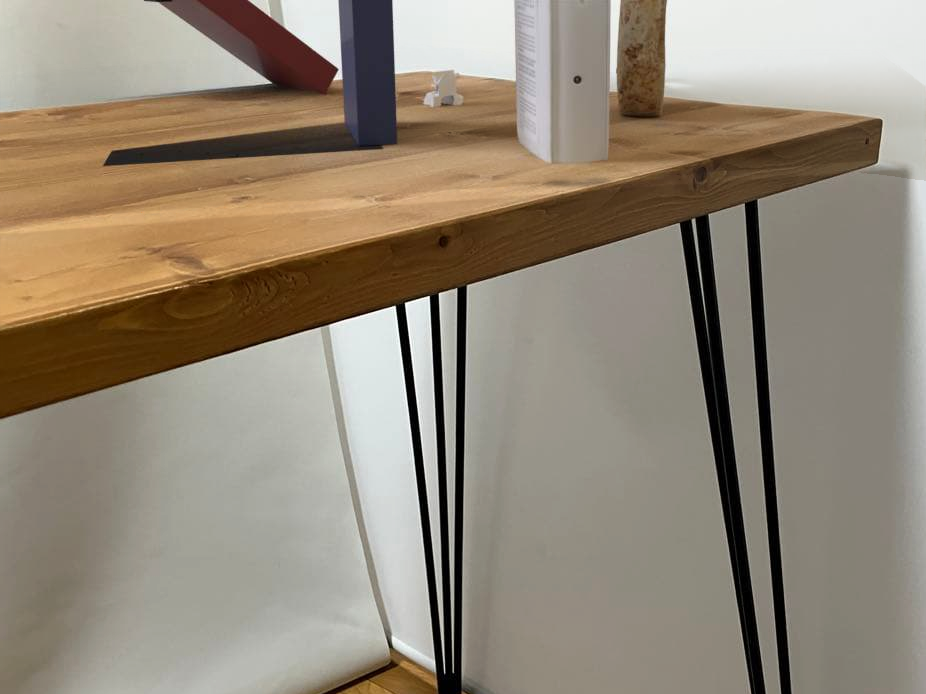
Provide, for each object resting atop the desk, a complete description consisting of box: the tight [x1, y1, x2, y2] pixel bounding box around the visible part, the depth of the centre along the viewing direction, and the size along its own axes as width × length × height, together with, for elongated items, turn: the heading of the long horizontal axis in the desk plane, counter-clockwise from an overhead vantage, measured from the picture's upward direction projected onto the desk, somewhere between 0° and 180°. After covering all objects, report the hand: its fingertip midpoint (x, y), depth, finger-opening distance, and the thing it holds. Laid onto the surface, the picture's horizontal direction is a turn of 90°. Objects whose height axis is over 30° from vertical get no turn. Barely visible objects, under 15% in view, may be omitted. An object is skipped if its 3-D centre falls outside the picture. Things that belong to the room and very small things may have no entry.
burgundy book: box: [157, 0, 339, 95], centre depth 95 cm, size 14×10×2 cm
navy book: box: [337, 0, 398, 147], centre depth 74 cm, size 14×10×2 cm
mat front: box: [103, 122, 385, 167], centre depth 74 cm, size 17×13×1 cm
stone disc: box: [615, 0, 668, 118], centre depth 82 cm, size 10×4×10 cm, turn 171°
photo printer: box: [513, 0, 612, 164], centre depth 67 cm, size 10×4×12 cm, turn 13°
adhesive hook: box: [422, 69, 464, 108], centre depth 89 cm, size 3×3×3 cm
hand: (158, 1), depth 90 cm, fingers closed
